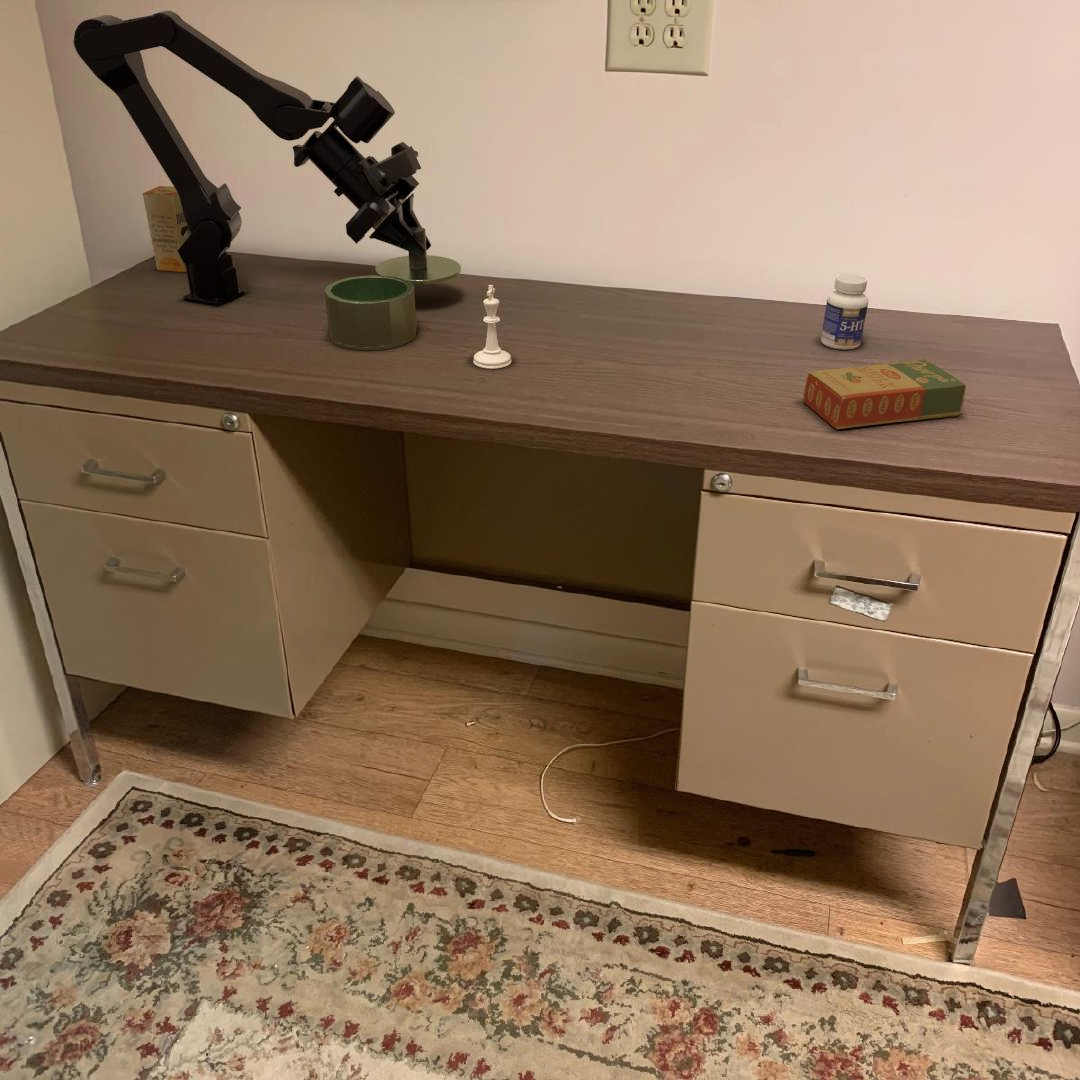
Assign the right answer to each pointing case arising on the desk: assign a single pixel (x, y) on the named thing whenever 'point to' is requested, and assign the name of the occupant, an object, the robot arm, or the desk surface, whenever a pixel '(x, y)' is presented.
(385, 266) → the lid
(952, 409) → the carton
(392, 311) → the tin
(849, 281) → the pill bottle
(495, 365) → the chess piece
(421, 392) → the desk surface
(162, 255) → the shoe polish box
